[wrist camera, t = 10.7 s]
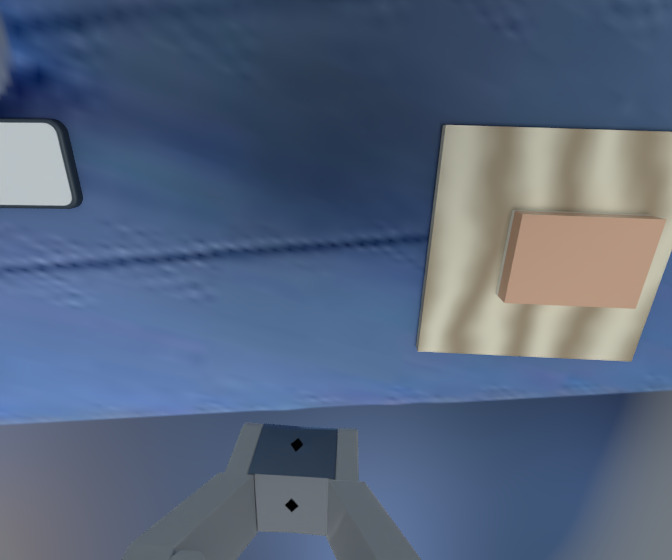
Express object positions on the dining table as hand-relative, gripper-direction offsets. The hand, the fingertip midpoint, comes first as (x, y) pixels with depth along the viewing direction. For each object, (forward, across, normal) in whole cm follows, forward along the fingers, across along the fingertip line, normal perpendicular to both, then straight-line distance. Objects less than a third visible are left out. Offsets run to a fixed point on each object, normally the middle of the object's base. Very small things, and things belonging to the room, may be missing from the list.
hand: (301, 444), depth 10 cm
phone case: (+32, +35, -4) cm, 47 cm away
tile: (+29, -17, +3) cm, 33 cm away
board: (+31, -22, +3) cm, 38 cm away
